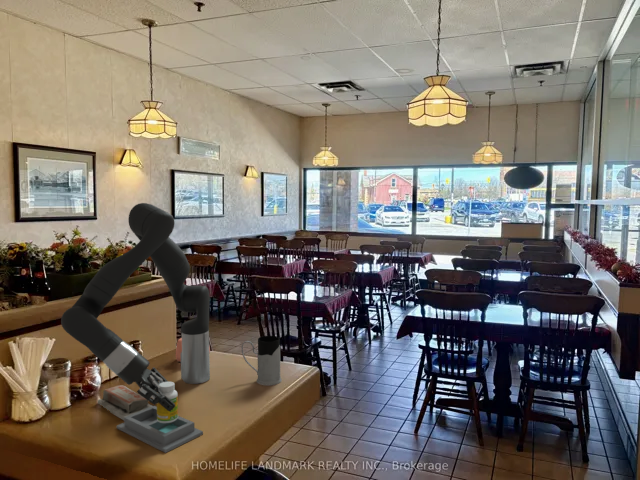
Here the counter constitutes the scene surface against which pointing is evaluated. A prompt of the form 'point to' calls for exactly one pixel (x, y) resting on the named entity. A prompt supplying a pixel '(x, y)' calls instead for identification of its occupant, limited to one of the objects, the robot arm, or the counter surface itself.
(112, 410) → the packaged product
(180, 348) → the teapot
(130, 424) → the divided tray
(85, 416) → the counter surface
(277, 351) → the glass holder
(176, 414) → the supplement bottle
